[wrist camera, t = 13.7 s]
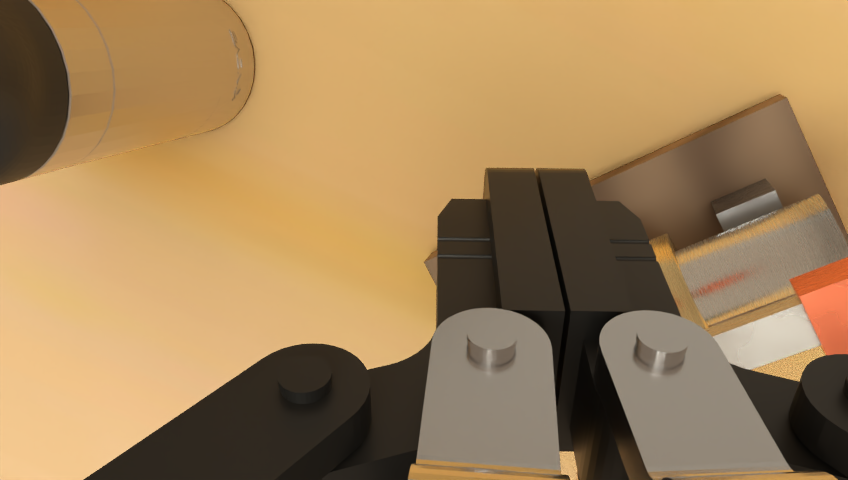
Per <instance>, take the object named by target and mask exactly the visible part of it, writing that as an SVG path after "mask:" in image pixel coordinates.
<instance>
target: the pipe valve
mask: <svg viewBox="0 0 848 480" xmlns="http://www.w3.org/2000/svg"><path fill="white" fill-rule="evenodd" d="M711 204H712V207H713V209H714V211H715V213H716V216H717V218H718V220H719V222H720V224H721V226H722V229H723V231H724V232H722V233H719V234H717V235H715V236H712V237H710V238H707V239H705V240H702V241H700V242H697V243H695V244H692V245H690V246H687V247H685V248H682V249H680V250H677V248H676V246H675V245H674V243H673V241H672V239H671V238H670V236H669V235H668V234H667V233H666V234H664V235H662V236H659V237H657V238H654V239H652V240H650V241H649V244H651V245H652V248H653V250H654V253H655V255H656V261H658V262H659V264H660V267H661V269H662V272H663V274H664V276H665V279H666V281H667V284H668V286H669V288H670V291H671V293H672V295H673V298H674V300H675V303H676V305H677V307H678V310H679V312H680V314H681V317H683V318H685V319H687V320H689V321H692V322H693V323H695V324H697V325H699V326H700V327H702V328H703V329H706V328H709V327H712V326H711V325H712V324H714V323H717V322H720V321H723V320H725V319H728V318H731V317H734V316H736V315H739V314H742V313H745V312H747V311H750V310H753V309H755V308H758V307H761V306H764V305H766V304H769V303H772V302H775V301H777V300H780V299H783V298H786V297H788V296H791V295H794V294H795V292H794V289H793V287H792V285H791V283H790V281H789V279H791V278H794V277H797V276H799V275H802V274H804V273H807V272H810V271H812V270H815V269H818V268H820V267H823V266H825V265H828V264H831V263H833V262H836V261H838V260H841V259H844V258H846V257H848V245H847V242H846V240H845V238H844V236H843V234H842V232H841V230H840V228H839V226H838V224H837V222H836V220H835V218H834V216H833V214H832V213H831V211H830V209H829V208H828V206H827V204H826V203H825V201H824V200H823V198H822V197H821V196H820V195H819V194H816V195H813V196H811V197H808V198H806V199H803V200H801V201H798V202H796V203H793V204H791V205H789V206H786V207H784V208H783V206H782V204H781V202H780V199H779V197H778V195H777V193H776V190H775V189H774V188H773V187H772V186H771V184H770V183H769V182H768V181H767V180H766V179H763V180H761V181H758V182H756V183H754V184H751V185H749V186H747V187H744V188H742V189H739V190H737V191H735V192H732V193H730V194H728V195H725V196H723V197H720V198H718V199H716V200H713V201H711Z"/></svg>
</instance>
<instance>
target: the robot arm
mask: <svg viewBox="0 0 848 480" xmlns="http://www.w3.org/2000/svg"><path fill="white" fill-rule="evenodd" d="M253 79H254V57H253V49H252V46H251V42H250V39H249V36H248V33H247V31H246V29H245V28H244V26H243V24H242V22H241V20H240V18H239V17H238V16H237V15H236V14H235V12H234V11H233V10H232V9H231V7H230V6H229V5H227V4H226V3H225V2H224V1H222V0H0V185H2V184H6V183H10V182H14V181H17V180H21V179H25V178H29V177H32V176H36V175H40V174H44V173H48V172H52V171H56V170H59V169H62V168H66V167H70V166H74V165H78V164H82V163H86V162H89V161H93V160H97V159H101V158H105V157H109V156H113V155H117V154H121V153H125V152H128V151H132V150H136V149H140V148H144V147H148V146H152V145H156V144H160V143H164V142H167V141H171V140H176V139H180V138H184V137H188V136H192V135H196V134H199V133H203V132H207V131H211V130H214V129H216V128H218V127H221V126H223V125H225V124H226V123H227V122H229V121H230V120H231V119H233V118H234V117H235V116H236V115H237V114H238V112H239V111H240V110H241V109H242V108H243V106H244V104H245V102H246V100H247V98H248V96H249V94H250V91H251V87H252V83H253ZM559 451H574V455H575V460H576V465H577V473H576V479H575V480H848V354H833V355H826V356H823V357H820V358H817V359H815V360H814V361H812V362H810V363H809V364H808V365H807V366H806V368H805V369H804V371H803V373H802V376H801V379H800V382H798V381H794V380H789V379H785V378H781V377H777V376H772V375H768V374H764V373H760V372H755V371H752V370H748V369H745V368H741V367H739V366H736V365H733V364H731V363H729V362H728V360H727V358H726V356H725V355H724V353H723V351H722V349H721V348H720V346H719V345H718V343H717V342H716V340H715V339H714V338H713V337H712V336H711V335H710V334H709V333H708V332H707V331H706V330H704V329H703V328H702V327H700V326H699V325H697V324H695V323H693V322H692V321H689V320H687V319H685V318H683V317H681V314H680V312H679V310H678V307H677V305H676V303H675V300H674V298H673V295H672V293H671V291H670V288H669V286H668V284H667V281H666V279H665V276H664V274H663V272H662V269H661V267H660V264H659V262H658V261H656V255H655V253H654V250H653V248H652V245H651V244H649V238H648V236H647V234H646V231H645V229H644V226H643V224H642V222H641V219H640V218H638V217H637V216H636V215H635V214H634V213H632V212H631V211H630V210H629V209H628V208H627V207H625V206H624V205H623V204H622V203H621V202H620V201H596V199H595V196H594V193H593V190H592V187H591V184H590V181H589V178H588V175H587V172H586V170H585V169H548V168H537V169H536V171H534V169H533V168H486V170H485V177H484V193H483V199H451V201H450V202H449V203H448V204H447V206H446V207H445V208H444V209H443V211H442V212H441V213H440V214H439V216H438V236H437V291H436V331H435V333H434V335H433V337H432V339H431V340H430V342H429V343H428V344H427V345H426V346H425V347H424V348H423V349H422V350H420V351H419V352H418V353H416V354H415V355H413V356H411V357H409V358H407V359H405V360H403V361H400V362H398V363H394V364H390V365H387V366H382V367H378V368H374V369H369V370H367V369H366V367H365V366H364V364H363V363H362V362H361V361H360V360H359V359H358V358H357V357H356V356H354V355H353V354H352V353H350V352H348V351H346V350H344V349H342V348H338V347H335V346H331V345H325V344H301V345H295V346H290V347H287V348H283V349H281V350H278V351H276V352H274V353H271V354H270V355H268V356H266V357H265V358H263V359H261V360H260V361H258V362H257V363H255V364H254V365H253V366H251V367H250V368H248V369H247V370H245V371H244V372H242V373H241V374H239V375H238V376H236V377H235V378H233V379H232V380H230V381H229V382H227V383H226V384H224V385H223V386H221V387H220V388H219V389H217V390H216V391H214V392H213V393H211V394H210V395H208V396H207V397H205V398H204V399H202V400H201V401H199V402H198V403H196V404H195V405H193V406H192V407H190V408H189V409H187V410H186V411H185V412H183V413H182V414H180V415H179V416H177V417H176V418H174V419H173V420H171V421H170V422H168V423H167V424H165V425H164V426H162V427H161V428H159V429H158V430H156V431H155V432H153V433H152V434H150V435H149V436H148V437H146V438H145V439H143V440H142V441H140V442H139V443H137V444H136V445H134V446H133V447H131V448H130V449H128V450H127V451H125V452H124V453H122V454H121V455H119V456H118V457H116V458H115V459H114V460H112V461H111V462H109V463H108V464H106V465H105V466H103V467H102V468H100V469H99V470H97V471H96V472H94V473H93V474H91V475H90V476H88V477H87V478H85V479H84V480H570V478H569V476H568V475H561V468H560V455H559Z"/></svg>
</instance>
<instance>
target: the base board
mask: <svg viewBox="0 0 848 480" xmlns="http://www.w3.org/2000/svg"><path fill="white" fill-rule="evenodd" d="M763 179H766V180H767V181H768V182H769V183H770V184H771V186H772V187H773V188H774V189H775V190H776V193H777V195H778V197H779V199H780V202H781V204H782V206H783V208H784V207H786V206H789V205H791V204H793V203H796V202H798V201H801V200H803V199H806V198H808V197H811V196H813V195H816V194H819V195H820V196H821V197H822V198H823V200H824V201H825V203H826V204H827V206H828V208H829V209H830V211H831V213H832V214H833V216H834V218H835V220H836V222H837V224H838V226H839V228H840V230H841V232H842V234H843V236H844V238H845V240H846V242H847V245H848V234H847V232H846V230H845V228H844V225H843V223H842V221H841V219H840V216H839V214H838V212H837V210H836V207H835V205H834V203H833V201H832V198H831V196H830V194H829V192H828V189H827V187H826V185H825V183H824V180H823V178H822V176H821V174H820V171H819V169H818V167H817V165H816V162H815V160H814V158H813V156H812V153H811V151H810V149H809V147H808V144H807V142H806V140H805V138H804V135H803V133H802V131H801V128H800V126H799V124H798V122H797V119H796V117H795V115H794V113H793V110H792V108H791V106H790V104H789V101H788V99H787V98H786V97H784V96H782V95H780V94H779V95H777V96H775V97H773V98H771V99H768V100H766V101H764V102H762V103H760V104H757V105H755V106H753V107H751V108H749V109H747V110H744V111H742V112H740V113H738V114H736V115H733V116H731V117H729V118H727V119H725V120H722V121H720V122H718V123H716V124H714V125H711V126H709V127H707V128H705V129H703V130H700V131H698V132H696V133H694V134H692V135H690V136H687V137H685V138H683V139H681V140H679V141H676V142H674V143H672V144H670V145H668V146H665V147H663V148H661V149H659V150H657V151H654V152H652V153H650V154H648V155H646V156H643V157H641V158H639V159H637V160H635V161H633V162H630V163H628V164H626V165H624V166H622V167H619V168H617V169H615V170H613V171H611V172H608V173H606V174H604V175H602V176H600V177H597V178H595V179H593V180H591V181H590V184H591V187H592V190H593V193H594V196H595V199H596V201H620V202H621V203H622V204H623V205H624V206H625V207H627V208H628V209H629V210H630V211H631V212H632V213H634V214H635V215H636V216H637V217H638V218H640V219H641V222H642V224H643V226H644V229H645V231H646V234H647V236H648V238H649V241H650V240H652V239H654V238H657V237H659V236H662V235H664V234H666V233H667V234H668V235H669V236H670V238H671V239H672V241H673V243H674V245H675V246H676V248H677V250H680V249H682V248H685V247H687V246H690V245H692V244H695V243H697V242H700V241H702V240H705V239H707V238H710V237H712V236H715V235H717V234H719V233H722V232H724V231H723V229H722V226H721V224H720V222H719V220H718V218H717V216H716V213H715V211H714V209H713V207H712V204H711V201H713V200H716V199H718V198H720V197H723V196H725V195H728V194H730V193H732V192H735V191H737V190H739V189H742V188H744V187H747V186H749V185H751V184H754V183H756V182H758V181H761V180H763ZM424 263H425V265H426V267H427V269H428V271H429V273H430V275H431V276H432V278H433V280H434V282H435V284H436V286H437V251H435V252H433V253H431V255H430V256H429V257H428V258H427V259H426V260H425V262H424ZM795 295H796V294H794V295H791V296H788V297H786V298H783V299H780V300H777V301H775V302H772V303H769V304H766V305H764V306H761V307H758V308H755V309H753V310H750V311H747V312H745V313H742V314H739V315H736V316H734V317H731V318H728V319H725V320H723V321H720V322H717V323H714V324H712V325H711V326H715V325H717V324H720V323H723V322H725V321H728V320H731V319H733V318H736V317H739V316H741V315H744V314H747V313H749V312H752V311H755V310H757V309H760V308H763V307H765V306H768V305H771V304H773V303H776V302H779V301H781V300H784V299H787V298H789V297H792V296H795Z"/></svg>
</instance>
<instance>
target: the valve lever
mask: <svg viewBox="0 0 848 480" xmlns="http://www.w3.org/2000/svg"><path fill="white" fill-rule="evenodd" d="M789 281H790V283H791V285H792V287H793V289H794V292H795V294H796V295H795V296H792V297H789V298H787V299H784V300H781V301H779V302H776V303H773V304H771V305H768V306H765V307H763V308H760V309H757V310H755V311H752V312H749V313H747V314H744V315H741V316H739V317H736V318H733V319H731V320H728V321H725V322H723V323H720V324H717V325H715V326H712V327H709V328H706V329H704V330H706V331H707V332H708V333H709V334H710V335H711V336H712V337H713V338H714V339H715V340H716V342H717V343H718V345H719V346H720V348H721V349H722V351H723V353H724V355H725V356H726V358H727V360H728V362H729V363H731V364H733V365H736V366H739V367H741V368H745V369H748V370H751V369H754V368H757V367H760V366H763V365H766V364H769V363H772V362H774V361H777V360H780V359H783V358H786V357H789V356H792V355H795V354H797V353H800V352H803V351H806V350H809V349H812V348H815V347H818V346H821V347H822V349H823V351H824V353H825V354H826V355H833V354H848V257H846V258H844V259H841V260H838V261H836V262H833V263H831V264H828V265H825V266H823V267H820V268H818V269H815V270H812V271H810V272H807V273H804V274H802V275H799V276H797V277H794V278H791V279H789Z"/></svg>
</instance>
